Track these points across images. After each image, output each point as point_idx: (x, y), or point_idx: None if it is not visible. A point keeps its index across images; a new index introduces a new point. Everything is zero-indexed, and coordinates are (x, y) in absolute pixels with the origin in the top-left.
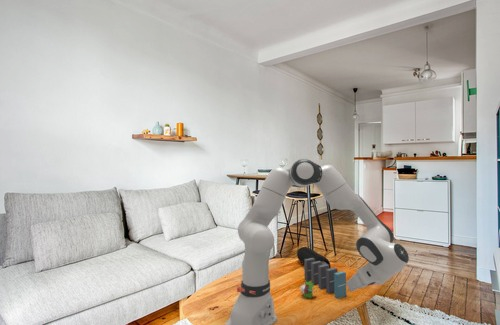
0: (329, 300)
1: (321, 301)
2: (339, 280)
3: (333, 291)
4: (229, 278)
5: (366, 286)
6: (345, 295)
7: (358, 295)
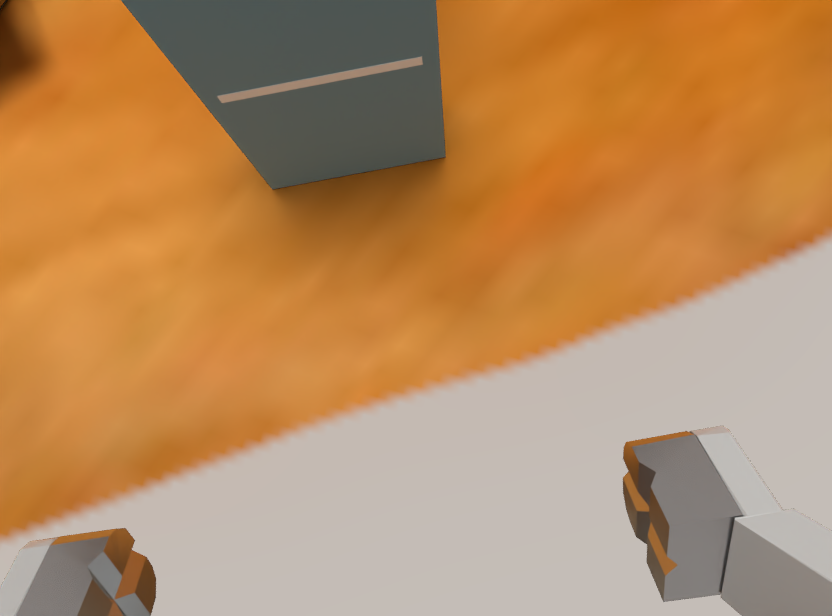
0: (134, 198)
1: (21, 187)
2: (218, 22)
3: None
4: None
5: (634, 529)
6: (426, 156)
7: (621, 208)
